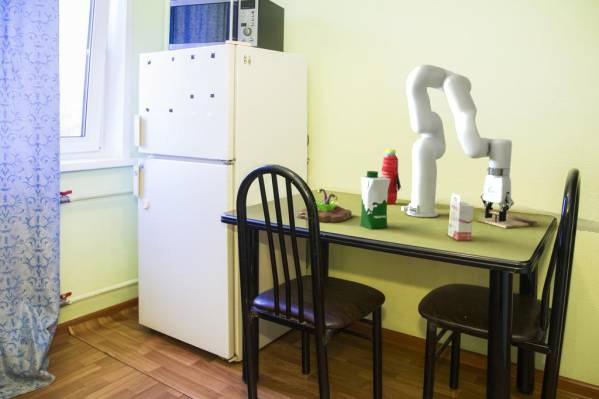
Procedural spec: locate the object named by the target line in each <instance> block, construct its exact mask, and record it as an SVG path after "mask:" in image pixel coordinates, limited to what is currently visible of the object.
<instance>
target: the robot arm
mask: <svg viewBox="0 0 599 399" xmlns="http://www.w3.org/2000/svg"><path fill="white" fill-rule="evenodd" d="M471 82H472V81H471V80H470V79H469V78H468V77H467V76H465V75H461V74H458V73H455V72H453V71H451V70H448V69H446V68H443V67H440V66H436V65H433V64H421V65H418V66H417V67H415V68H414V69H413V70H412V71H411V72H410V74H409V75H408V76H407V80H406V84H405V90H406V97H407V104H408V111H409V119H410V126H411V129H412V131H413V132H414V133H415V134H417V135H421V138H419V139H417V140H416V141H415V142H414V144H413V145H412V148H411V160H412V179H411V180H412V181H411V202H409V203H408V204H407V205H402V206H401V207H400V210H401V211H402V212H406V214H407V215H409V216H411V217H416V218H437V217H438V216H439V211H436V195H437V181H438V180H437V179H438V178H437V177H438V176H437V175H438V167H437V160H440V159H441V158H442V157H444V155H445V153H446V149H447V145H446V137H445V130H444V122H443V120H442V118H441V116H440V115H439V114H438V112H436V111H432V106H431V99H430V95H429V93H428V88H432V89H435V90H438V91H440V92H443V93H444V95H445V98H446V100H447V103H448V105H449V108H450V111H451V112H452V115H453V118H454V124H455V130H456V134H457V138H458V140H459V142H460V145H461V147H462V150H463V151H464V153H465V155H466V156H468V158H471V159H481V158H482V159H483V158H488V168H487V174H486V175H485V179H484V182H483V188H482V195H481V196H480V199H481V201H482V204H483V206H484V207H483V208H485V209H484V210H485V211H484V218H493V214H489V213H488V211H489V210H494V207H493V204H496V205H497V204H498V205H499V209H500V210H498V212H499V216H497V217H498V221H499V222H504V221H506V214H508V213H507V212H508V211H509V210H510V209H511V207H512V206H514V204H515V202H514V200H513V198H512V180H511V179H512V178H511V176H510V175H511V162H512V150H513V142H512V140H511V139H505V138H487V137H481V135H480V133H479V129H478V128H477V125H476V124H477V123H476V116H477V111H478V110H477V106H476V104H475V101H474V99H473V97H472V94H471V90H472V83H471Z"/></svg>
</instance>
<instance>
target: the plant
mask: <svg viewBox="0 0 599 399" xmlns="http://www.w3.org/2000/svg"><path fill="white" fill-rule="evenodd" d="M317 192H318V194H321V193H322V192H323V195H324V196H323V200H322V201H319V200H316V201H315V203H316V204H317V207H318V212H319V221H318V222H321V223H328V222H329V223H330V222H331V223H341V222H344V221H345V220H347V219H351V218H352V216H353V214H352V213H353V212H352V210H350V209H347V208H344V207H341V206H340V205H339V202H336V203H335V201H338V196H337V195H336V194H334V193H330V194H329V195H327V192H326V190H325V189H324V188H319V189H318V190H317ZM331 198H333V199H334V200H331ZM306 208H307V207H306ZM306 208H302V209H301V210H299V211H298V213H297V218H299V219H303V218H304V220H308V219H307V217H305V216H300V215H306ZM298 214H299V215H298Z"/></svg>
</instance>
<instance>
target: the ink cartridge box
mask: <svg viewBox="0 0 599 399" xmlns="http://www.w3.org/2000/svg"><path fill="white" fill-rule="evenodd" d="M455 198H456V199H455ZM461 199H462V196H461V195H458V194H456V193H453V192H452V193H451V196H450V203H449V217H448V230H447V231H448V233H447V234H448V236H450V237H451V238H452V239H454V240H456V241H472V234H473V232H472V230H473V217H474V205H472V204H470V203H467V202H465V201H462V200H461Z"/></svg>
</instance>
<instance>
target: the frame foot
mask: <svg viewBox="0 0 599 399" xmlns="http://www.w3.org/2000/svg"><path fill="white" fill-rule="evenodd" d="M506 218H508V219H512V220H516V221H520V222H524V223H528V224H529V226H531V227H537V226H538V221H539V220H535V219H531V218H527V217H523V216H518V215H514V214H509V213H506Z"/></svg>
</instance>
